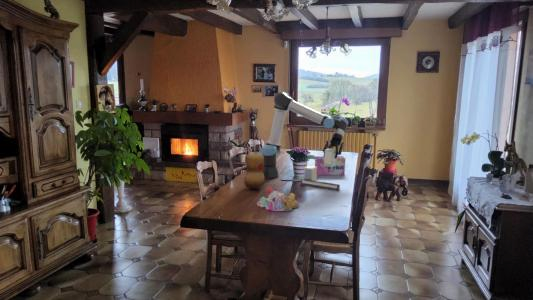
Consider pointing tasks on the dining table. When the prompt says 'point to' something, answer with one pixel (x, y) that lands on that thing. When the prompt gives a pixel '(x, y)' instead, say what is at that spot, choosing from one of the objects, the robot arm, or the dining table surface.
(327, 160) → the tea carton
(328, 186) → the price rail
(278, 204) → the pastel sphere sculpture
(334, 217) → the dining table surface
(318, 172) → the gum box
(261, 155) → the butternut squash
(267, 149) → the robot arm
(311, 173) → the oat carton
